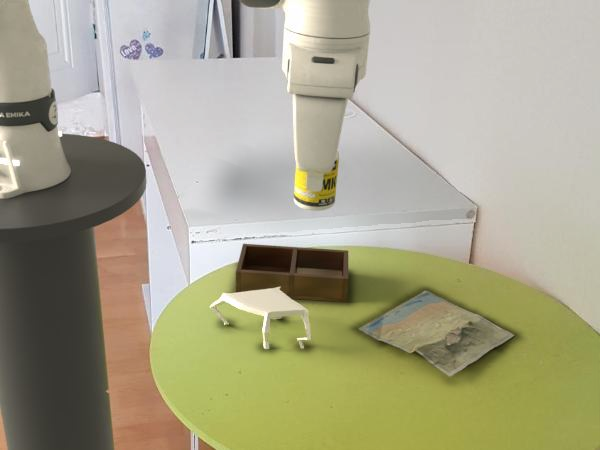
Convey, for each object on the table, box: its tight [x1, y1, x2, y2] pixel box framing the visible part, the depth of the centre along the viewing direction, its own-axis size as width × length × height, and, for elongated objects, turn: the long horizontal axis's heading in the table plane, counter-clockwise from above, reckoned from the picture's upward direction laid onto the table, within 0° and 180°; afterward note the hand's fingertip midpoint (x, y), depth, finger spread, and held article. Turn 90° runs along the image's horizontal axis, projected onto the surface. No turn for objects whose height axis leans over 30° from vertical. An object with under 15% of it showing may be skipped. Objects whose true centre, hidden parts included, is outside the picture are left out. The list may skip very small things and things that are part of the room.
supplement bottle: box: [293, 150, 340, 212], centre depth 84 cm, size 5×5×8 cm
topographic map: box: [358, 290, 515, 378], centre depth 90 cm, size 14×14×2 cm
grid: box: [235, 243, 349, 303], centre depth 98 cm, size 14×7×4 cm, turn 87°
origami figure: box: [209, 287, 312, 350], centre depth 88 cm, size 12×8×5 cm
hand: (315, 177), depth 85 cm, fingers closed on supplement bottle, 5 cm apart
